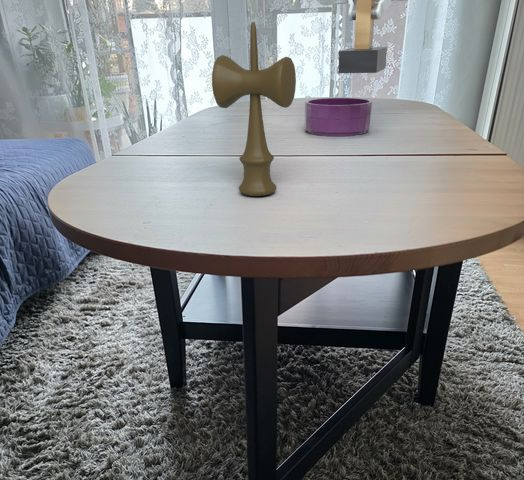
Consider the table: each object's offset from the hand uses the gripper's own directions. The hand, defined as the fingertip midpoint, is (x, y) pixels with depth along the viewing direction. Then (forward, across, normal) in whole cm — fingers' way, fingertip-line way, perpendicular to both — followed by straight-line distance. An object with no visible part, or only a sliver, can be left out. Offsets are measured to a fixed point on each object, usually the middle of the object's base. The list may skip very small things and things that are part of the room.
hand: (363, 16), depth 88 cm
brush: (+5, 0, -7) cm, 8 cm away
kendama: (+42, +3, +13) cm, 45 cm away
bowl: (+5, +8, -24) cm, 26 cm away
